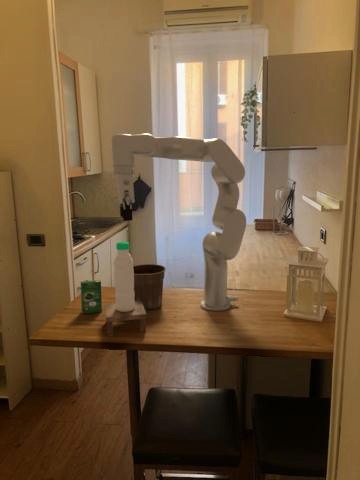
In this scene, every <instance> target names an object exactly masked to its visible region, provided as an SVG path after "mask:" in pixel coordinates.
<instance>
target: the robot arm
mask: <svg viewBox="0 0 360 480" xmlns="http://www.w3.org/2000/svg"><path fill="white" fill-rule="evenodd" d="M111 150H112V152H111V153H112V171H113V173H112V175H114V176H116V183H117V184H116V185H117V187H116V188H117V195H118V197H117V198H118V201H119V203H120V206H119V215H120V218H122V220H123V221H124V222H128V221H129V222H130V221H133V208H132V207H133V206H132V204H134V203H135V201H136V200H135V189H134V179H133V175H136V170H135V169H136V168H135V157H146V158H159V159H168V160H174V161H175V160H176V161H178V160H179V161H192V162H203V163H210V162H211V163H213V162H214V164H213V165H212V167H211V170H210V173H211V178H212V179H213V180H214V182H215V183H216V186H217V189H218V195H217V201H216V204H215V208H214V210H213V214H212V219H211V221H212V225H213V226H214V227H215V228H216V229H219V230H221V231H222V232H219V231H210V232H209V233H207V234H205V236H204V237H203V240H202V251H203V259H204V271H203V272H204V278H203V279H204V281H203V282H204V286H203V287H204V290H203V292H204V296H203V297H204V299H203V300H201V302H200V307H201V308H203V309H204V310H207V311H210V312H211V311H213V312H223V311H226V310H229V309H230V308H231V302H238V301H239V297H238V296H236V295H235V296H233V294H232V295H228V261H230V260H233V259H234V258H236V257H237V255H238V253H239V252H240V250H241V246H242V242H243V238H244V235H245V232H246V228H247V216H246V214H245V213H244V211H243V210H241V209H239V208H238V205H239V200H240V188H239V186H238V184H239V183H241V182H242V181H243V180H244V179H245V176H246V170H245V166H244V164H243V163H242V161H241V160H240V159H239V157H238V156H237V155H236V154H235V152H234V151H233V150H232V149H231V147H230V146H229V145H228V144H227V143H226V142H225V140H223V139H221V138H209V139H208V138H207V139H206V138H198V137H197V138H196V137H188V136H167V137H156V136H154V135H152V134H151V133H140V134H128V133H119V134H118V133H117V134H114V135H112V137H111Z"/></svg>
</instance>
